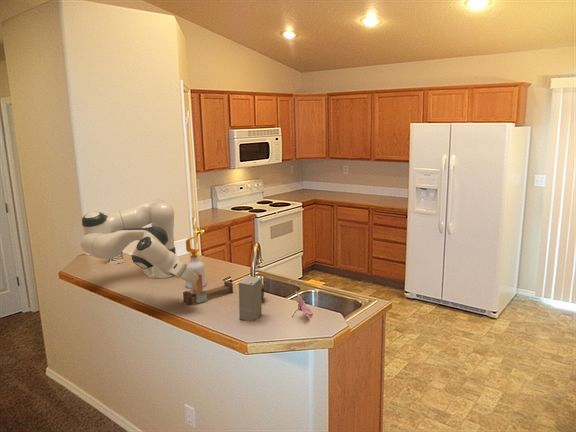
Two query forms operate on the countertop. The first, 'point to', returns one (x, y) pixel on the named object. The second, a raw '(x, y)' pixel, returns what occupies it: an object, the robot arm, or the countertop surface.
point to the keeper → (198, 290)
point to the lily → (302, 306)
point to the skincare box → (250, 298)
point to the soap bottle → (194, 263)
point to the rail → (210, 293)
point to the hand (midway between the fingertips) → (193, 282)
